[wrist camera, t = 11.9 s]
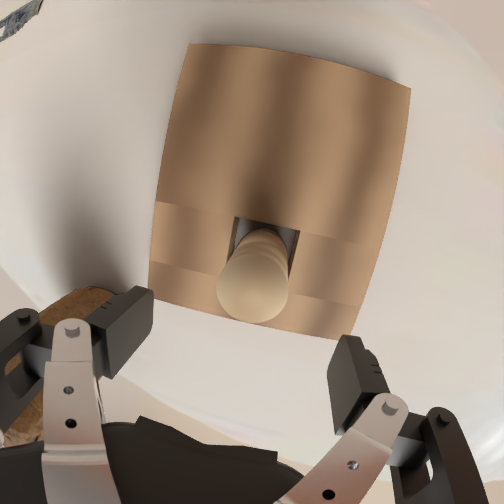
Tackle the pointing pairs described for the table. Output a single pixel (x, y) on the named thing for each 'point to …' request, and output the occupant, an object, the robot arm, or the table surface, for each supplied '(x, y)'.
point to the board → (277, 178)
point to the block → (31, 418)
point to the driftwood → (19, 18)
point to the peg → (255, 278)
